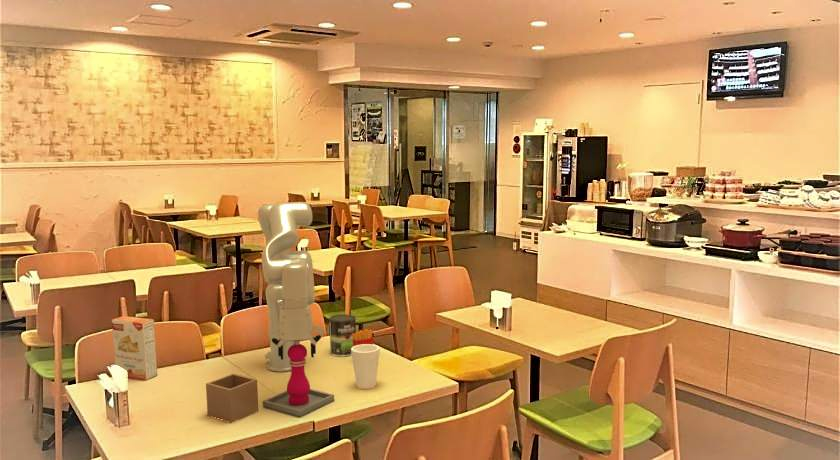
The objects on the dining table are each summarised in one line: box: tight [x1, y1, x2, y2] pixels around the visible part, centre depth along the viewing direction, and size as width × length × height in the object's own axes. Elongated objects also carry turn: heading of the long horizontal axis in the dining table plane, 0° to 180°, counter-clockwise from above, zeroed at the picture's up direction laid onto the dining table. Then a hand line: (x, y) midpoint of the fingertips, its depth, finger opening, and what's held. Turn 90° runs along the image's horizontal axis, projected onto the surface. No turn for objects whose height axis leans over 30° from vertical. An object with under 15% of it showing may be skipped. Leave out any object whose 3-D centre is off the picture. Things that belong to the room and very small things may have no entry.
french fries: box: [352, 328, 374, 346], centre depth 254 cm, size 8×4×12 cm, turn 128°
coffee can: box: [328, 314, 357, 358], centre depth 265 cm, size 10×10×14 cm
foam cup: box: [350, 344, 381, 390], centre depth 228 cm, size 10×9×13 cm
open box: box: [205, 373, 259, 424], centre depth 206 cm, size 11×11×10 cm
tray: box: [262, 388, 335, 418], centre depth 214 cm, size 16×16×2 cm
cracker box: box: [111, 315, 158, 381], centre depth 240 cm, size 14×6×21 cm, turn 68°
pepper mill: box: [286, 340, 311, 405], centre depth 213 cm, size 7×7×20 cm
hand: (297, 357), depth 212 cm, fingers open, 9 cm apart
